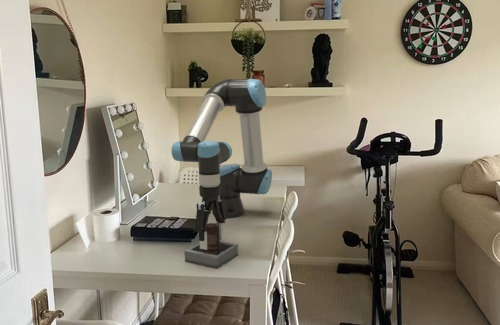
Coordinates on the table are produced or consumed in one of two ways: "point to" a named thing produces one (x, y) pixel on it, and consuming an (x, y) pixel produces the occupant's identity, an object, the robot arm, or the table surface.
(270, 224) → the table surface
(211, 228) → the box
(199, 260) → the tray
